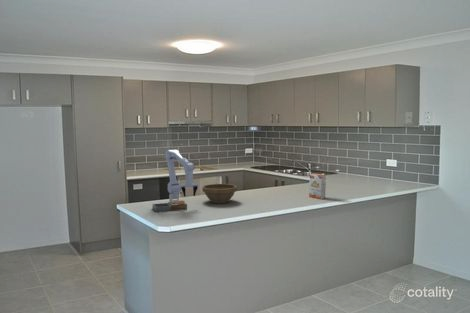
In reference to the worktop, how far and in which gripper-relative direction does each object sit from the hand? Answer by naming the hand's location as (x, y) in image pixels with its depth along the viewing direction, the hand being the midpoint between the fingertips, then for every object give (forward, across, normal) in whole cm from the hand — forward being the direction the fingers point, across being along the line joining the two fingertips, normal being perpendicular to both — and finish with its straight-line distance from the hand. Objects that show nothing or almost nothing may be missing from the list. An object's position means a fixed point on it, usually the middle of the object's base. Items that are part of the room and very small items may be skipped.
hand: (189, 196), depth 320 cm
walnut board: (+9, -9, +3) cm, 13 cm away
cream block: (+5, -10, +6) cm, 13 cm away
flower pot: (+10, +30, +14) cm, 34 cm away
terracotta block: (+5, -7, 0) cm, 9 cm away
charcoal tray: (+9, -21, +3) cm, 23 cm away
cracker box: (+10, +115, -2) cm, 115 cm away
